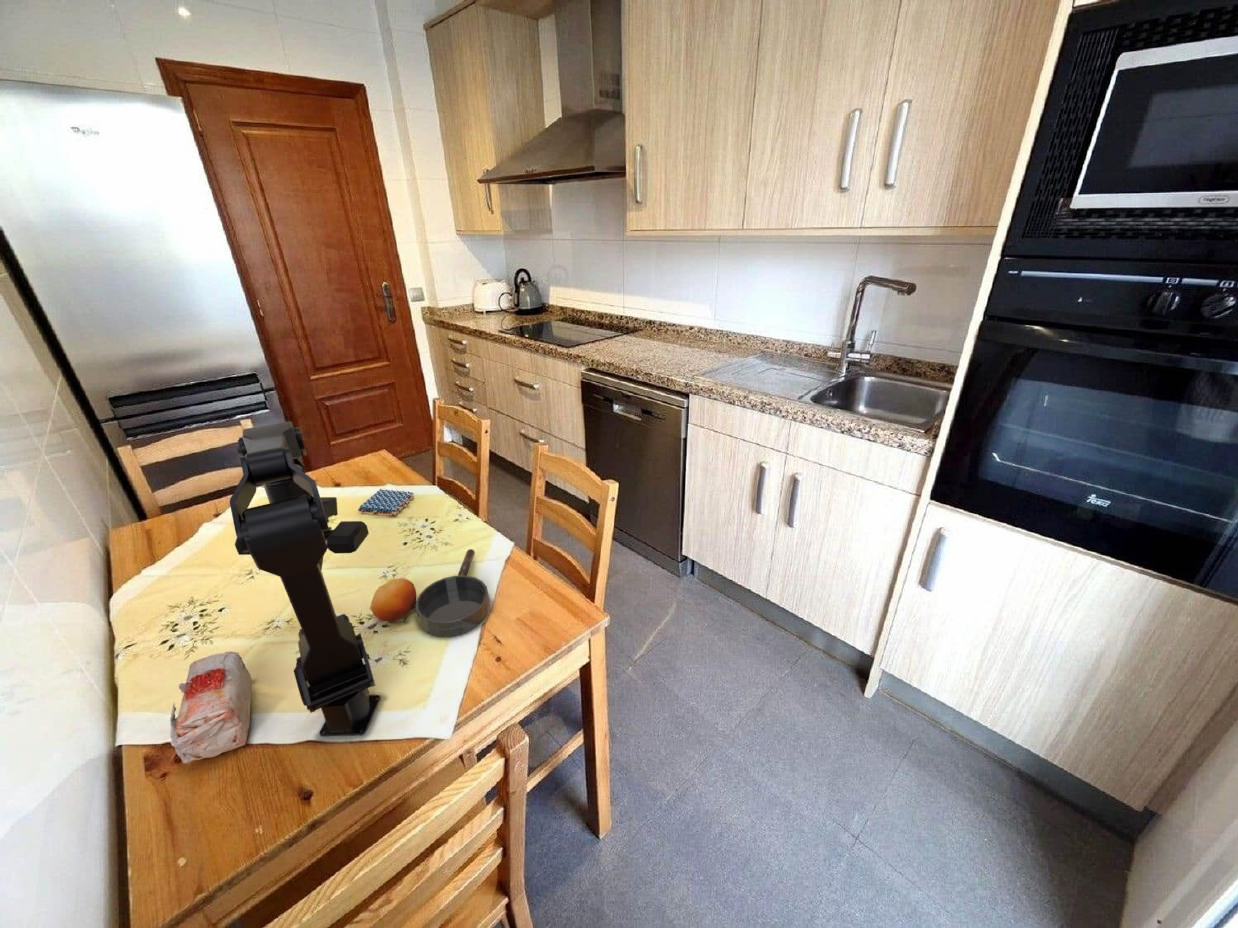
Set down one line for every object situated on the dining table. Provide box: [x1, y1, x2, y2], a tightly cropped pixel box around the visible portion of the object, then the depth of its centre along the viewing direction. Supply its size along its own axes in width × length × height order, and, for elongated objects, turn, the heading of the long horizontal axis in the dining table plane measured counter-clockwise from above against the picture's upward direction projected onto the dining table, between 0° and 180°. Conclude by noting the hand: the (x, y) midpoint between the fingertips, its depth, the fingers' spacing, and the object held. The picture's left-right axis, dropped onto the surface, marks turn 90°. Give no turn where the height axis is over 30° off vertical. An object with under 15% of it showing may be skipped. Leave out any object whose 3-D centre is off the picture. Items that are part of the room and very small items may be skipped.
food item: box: [169, 651, 252, 765], centre depth 72 cm, size 14×8×10 cm, turn 31°
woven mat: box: [357, 488, 415, 517], centre depth 130 cm, size 10×11×2 cm
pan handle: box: [457, 548, 476, 576], centre depth 104 cm, size 10×2×2 cm, turn 3°
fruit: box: [370, 577, 417, 624], centre depth 94 cm, size 8×8×8 cm
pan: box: [415, 575, 491, 638], centre depth 95 cm, size 13×13×4 cm
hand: (316, 578), depth 86 cm, fingers closed
